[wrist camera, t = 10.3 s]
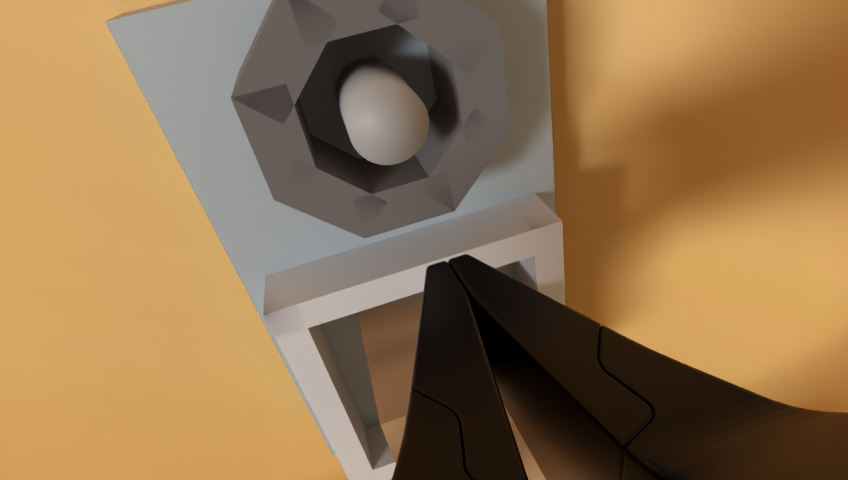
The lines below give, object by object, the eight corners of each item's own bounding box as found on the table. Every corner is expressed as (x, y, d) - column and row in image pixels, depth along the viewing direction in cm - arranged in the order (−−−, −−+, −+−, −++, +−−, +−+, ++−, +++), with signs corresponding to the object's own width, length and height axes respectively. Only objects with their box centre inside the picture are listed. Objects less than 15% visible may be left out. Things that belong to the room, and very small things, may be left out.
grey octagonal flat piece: (485, 159, 15) (516, 192, 13) (296, 215, 15) (298, 258, 13) (455, -65, 12) (491, -67, 10) (207, -5, 11) (191, 6, 9)
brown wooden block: (491, 367, 21) (550, 486, 16) (391, 401, 20) (423, 533, 16) (473, 258, 18) (540, 369, 13) (353, 296, 17) (380, 424, 13)
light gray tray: (548, 352, 24) (604, 438, 20) (329, 426, 23) (341, 535, 18) (518, -83, 14) (622, -93, 9) (122, 13, 12) (45, 49, 8)
